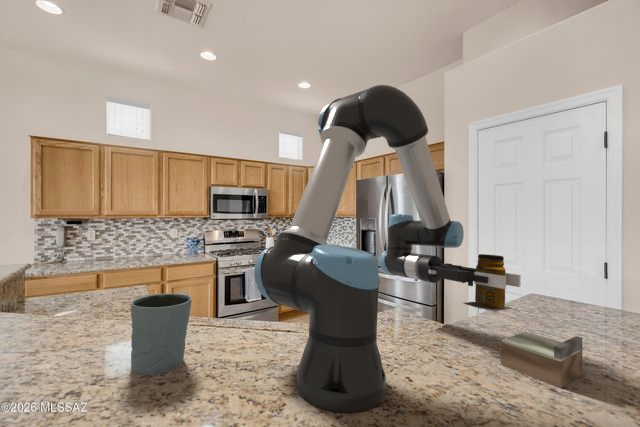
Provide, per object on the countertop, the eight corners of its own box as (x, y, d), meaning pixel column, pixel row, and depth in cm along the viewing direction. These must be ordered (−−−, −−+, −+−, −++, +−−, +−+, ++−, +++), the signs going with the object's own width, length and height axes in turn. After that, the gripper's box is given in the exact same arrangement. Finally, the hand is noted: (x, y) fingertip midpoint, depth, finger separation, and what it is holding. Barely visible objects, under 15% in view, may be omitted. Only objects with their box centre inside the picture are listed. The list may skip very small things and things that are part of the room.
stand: (560, 388, 51) (560, 348, 52) (501, 364, 60) (501, 330, 60) (582, 373, 57) (582, 337, 58) (525, 354, 66) (525, 322, 66)
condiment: (513, 308, 67) (513, 256, 67) (494, 312, 62) (494, 256, 63) (481, 301, 73) (482, 253, 73) (461, 304, 68) (462, 253, 69)
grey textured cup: (177, 348, 61) (181, 291, 62) (196, 366, 54) (200, 301, 54) (120, 362, 54) (125, 297, 55) (133, 385, 47) (138, 310, 47)
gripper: (444, 279, 88) (531, 295, 69) (401, 282, 78) (490, 302, 59) (444, 254, 89) (531, 264, 69) (402, 254, 79) (490, 265, 59)
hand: (512, 281), depth 64 cm, fingers closed on condiment, 6 cm apart
